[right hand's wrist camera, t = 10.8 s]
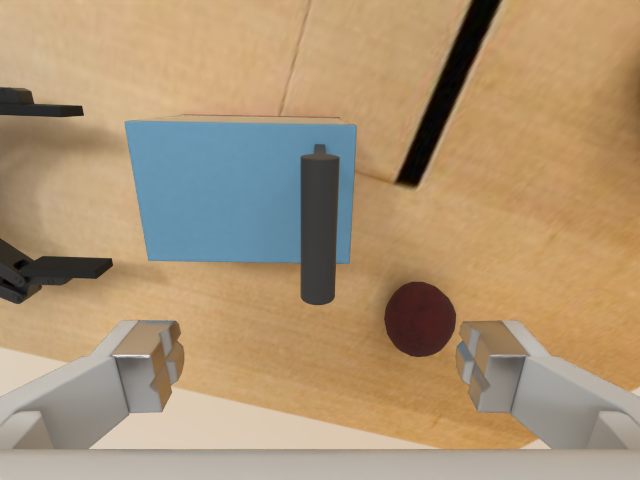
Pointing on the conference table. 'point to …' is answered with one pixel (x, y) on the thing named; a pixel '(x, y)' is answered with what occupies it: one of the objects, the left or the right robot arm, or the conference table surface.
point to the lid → (247, 194)
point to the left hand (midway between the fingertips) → (90, 196)
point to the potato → (419, 319)
